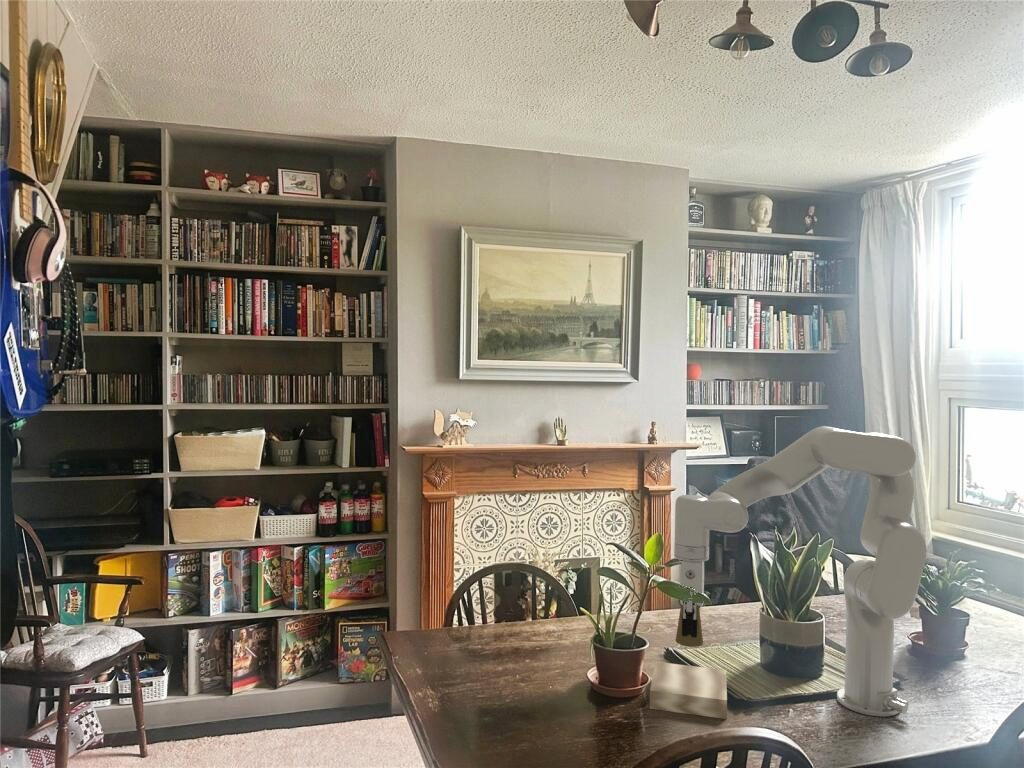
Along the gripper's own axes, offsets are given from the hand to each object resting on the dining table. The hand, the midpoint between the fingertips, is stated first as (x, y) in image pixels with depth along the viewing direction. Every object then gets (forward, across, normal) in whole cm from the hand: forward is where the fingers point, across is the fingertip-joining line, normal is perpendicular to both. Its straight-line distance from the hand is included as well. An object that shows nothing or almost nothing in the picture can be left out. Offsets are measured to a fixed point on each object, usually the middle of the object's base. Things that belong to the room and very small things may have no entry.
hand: (689, 631), depth 163 cm
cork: (+2, 0, 0) cm, 2 cm away
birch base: (+15, 0, 0) cm, 15 cm away
